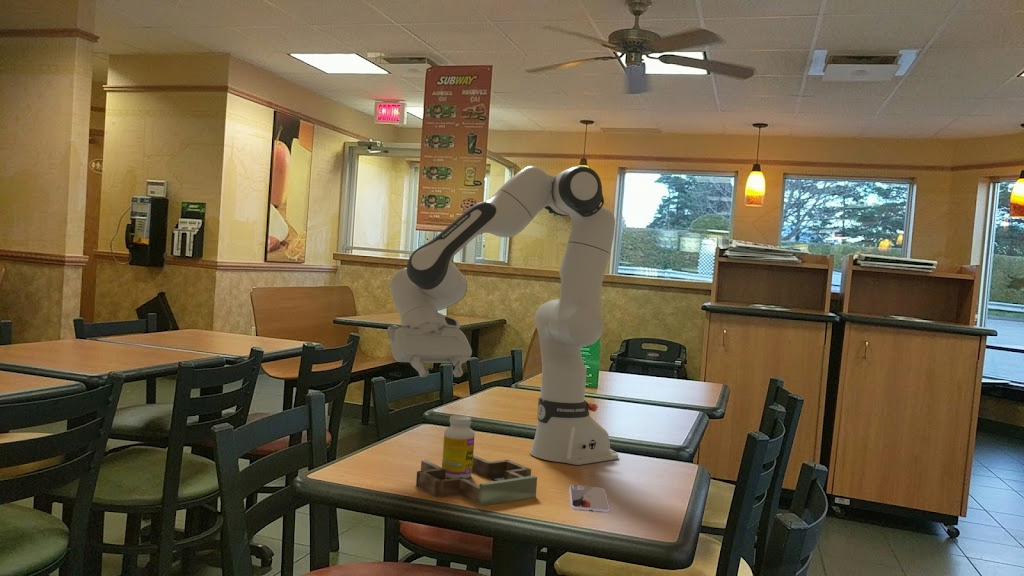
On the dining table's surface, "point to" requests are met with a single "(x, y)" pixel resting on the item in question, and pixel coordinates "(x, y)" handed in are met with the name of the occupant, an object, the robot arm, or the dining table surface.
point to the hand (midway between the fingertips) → (442, 375)
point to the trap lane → (506, 487)
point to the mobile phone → (588, 498)
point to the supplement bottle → (458, 447)
